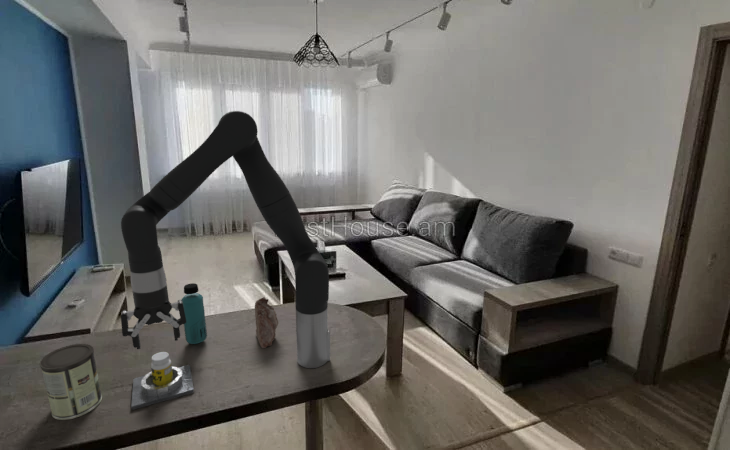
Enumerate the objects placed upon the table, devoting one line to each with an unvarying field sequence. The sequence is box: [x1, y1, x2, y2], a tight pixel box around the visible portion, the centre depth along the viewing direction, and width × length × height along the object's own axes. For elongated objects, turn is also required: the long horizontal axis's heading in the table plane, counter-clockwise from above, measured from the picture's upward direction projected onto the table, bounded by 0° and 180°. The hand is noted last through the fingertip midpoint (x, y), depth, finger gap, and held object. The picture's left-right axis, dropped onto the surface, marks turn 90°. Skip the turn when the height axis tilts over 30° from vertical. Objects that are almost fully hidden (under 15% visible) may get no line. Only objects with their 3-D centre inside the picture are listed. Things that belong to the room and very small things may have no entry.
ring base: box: [130, 364, 195, 411], centre depth 102 cm, size 14×12×3 cm
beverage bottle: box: [181, 283, 208, 345], centre depth 120 cm, size 6×7×20 cm
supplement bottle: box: [150, 351, 173, 387], centre depth 101 cm, size 5×5×8 cm
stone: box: [254, 296, 279, 349], centre depth 124 cm, size 15×7×10 cm
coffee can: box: [39, 343, 103, 421], centre depth 93 cm, size 10×10×14 cm
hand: (158, 343), depth 99 cm, fingers open, 8 cm apart
